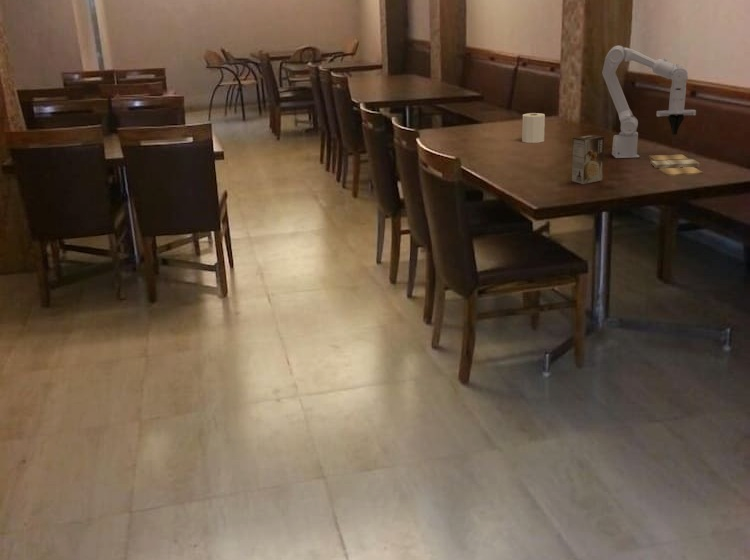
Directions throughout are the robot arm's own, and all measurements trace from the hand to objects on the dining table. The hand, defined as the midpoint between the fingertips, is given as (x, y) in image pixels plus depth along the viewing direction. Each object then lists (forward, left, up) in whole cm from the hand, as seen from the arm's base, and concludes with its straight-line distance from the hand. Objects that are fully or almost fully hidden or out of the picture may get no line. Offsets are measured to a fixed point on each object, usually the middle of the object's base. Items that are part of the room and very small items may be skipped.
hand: (674, 134), depth 304 cm
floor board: (-3, -15, -9) cm, 18 cm away
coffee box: (-40, -35, -10) cm, 54 cm away
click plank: (-3, -6, -9) cm, 11 cm away
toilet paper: (-49, +45, -10) cm, 68 cm away
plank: (-4, -26, -10) cm, 28 cm away
